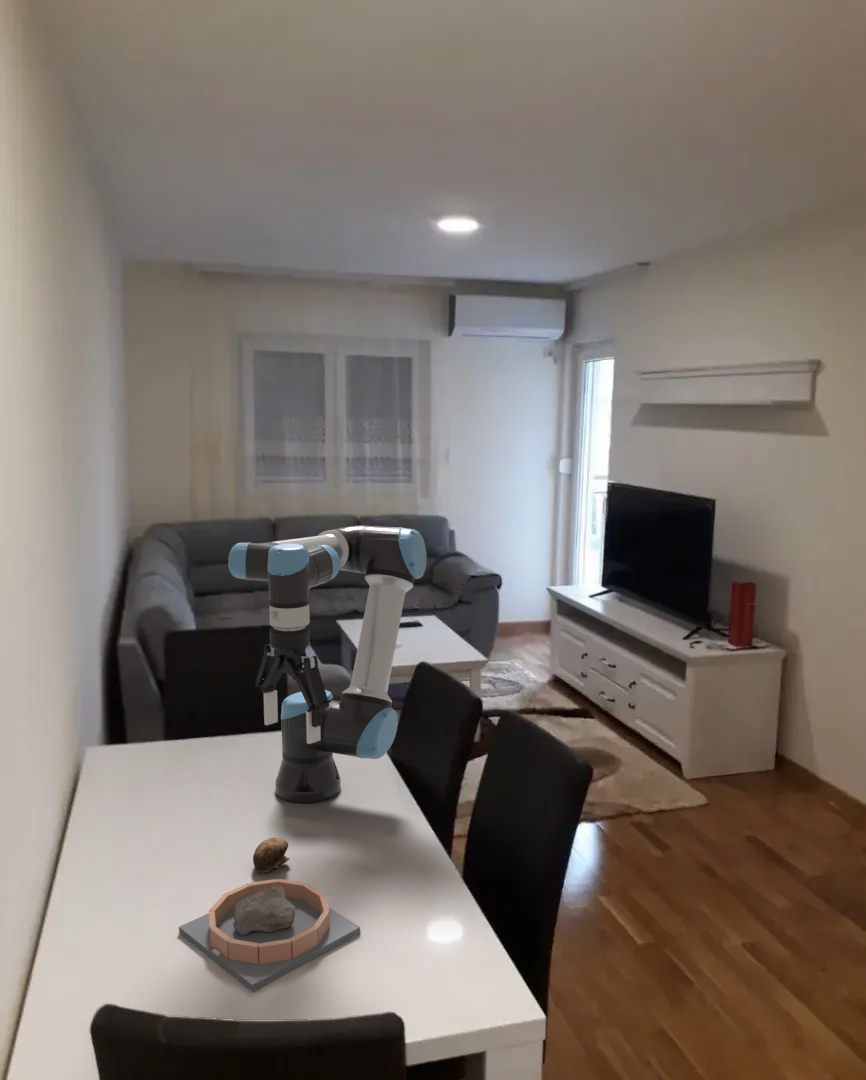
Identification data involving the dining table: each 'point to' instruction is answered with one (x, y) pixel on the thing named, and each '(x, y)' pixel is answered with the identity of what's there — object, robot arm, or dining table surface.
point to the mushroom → (270, 854)
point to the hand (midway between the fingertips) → (291, 732)
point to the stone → (264, 912)
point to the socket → (269, 934)
